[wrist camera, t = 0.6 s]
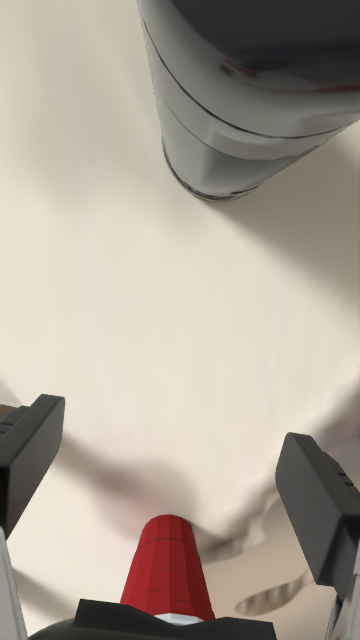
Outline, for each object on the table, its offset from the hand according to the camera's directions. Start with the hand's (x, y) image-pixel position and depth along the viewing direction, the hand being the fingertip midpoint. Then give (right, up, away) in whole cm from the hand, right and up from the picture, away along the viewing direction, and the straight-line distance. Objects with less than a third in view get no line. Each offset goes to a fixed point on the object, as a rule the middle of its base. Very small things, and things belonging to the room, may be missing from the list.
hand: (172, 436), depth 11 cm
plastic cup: (-1, -20, +24) cm, 32 cm away
